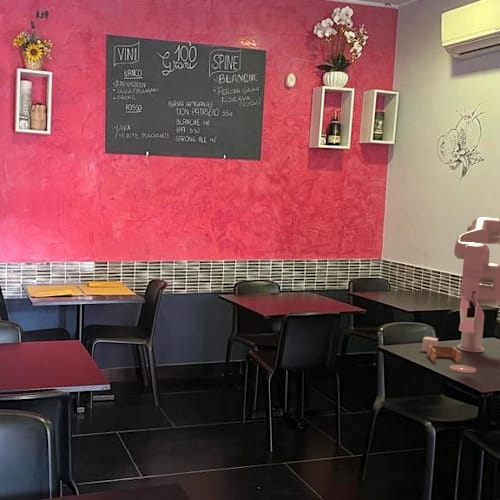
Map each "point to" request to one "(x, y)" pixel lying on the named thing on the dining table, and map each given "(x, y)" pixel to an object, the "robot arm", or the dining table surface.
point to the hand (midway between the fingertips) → (467, 315)
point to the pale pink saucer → (462, 368)
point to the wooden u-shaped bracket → (443, 352)
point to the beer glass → (466, 322)
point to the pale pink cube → (429, 342)
